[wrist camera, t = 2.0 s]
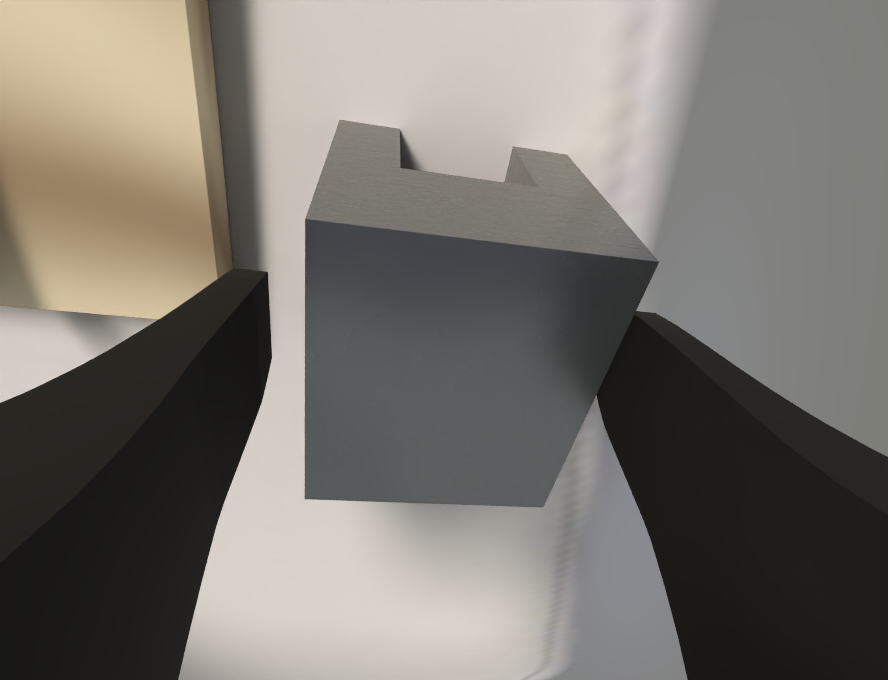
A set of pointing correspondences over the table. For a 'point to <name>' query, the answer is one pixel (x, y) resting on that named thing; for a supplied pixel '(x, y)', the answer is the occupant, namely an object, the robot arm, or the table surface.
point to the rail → (109, 156)
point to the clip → (456, 323)
